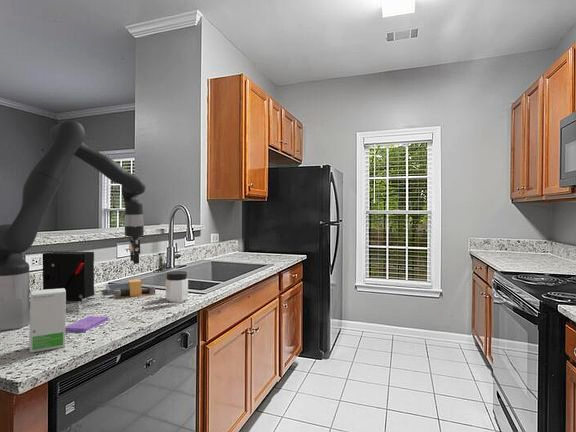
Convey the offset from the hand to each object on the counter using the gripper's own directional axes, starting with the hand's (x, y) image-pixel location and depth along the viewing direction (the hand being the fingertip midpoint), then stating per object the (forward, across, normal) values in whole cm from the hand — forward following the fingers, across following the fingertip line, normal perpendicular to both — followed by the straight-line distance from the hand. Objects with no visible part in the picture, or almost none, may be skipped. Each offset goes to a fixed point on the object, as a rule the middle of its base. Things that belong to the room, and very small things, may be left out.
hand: (134, 262), depth 153 cm
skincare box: (+15, +47, -29) cm, 58 cm away
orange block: (+14, 0, 0) cm, 14 cm away
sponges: (+16, +32, -19) cm, 41 cm away
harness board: (+15, 0, 0) cm, 15 cm away
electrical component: (+15, -11, -24) cm, 31 cm away
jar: (+15, +16, +14) cm, 26 cm away
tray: (+15, -11, -4) cm, 19 cm away
